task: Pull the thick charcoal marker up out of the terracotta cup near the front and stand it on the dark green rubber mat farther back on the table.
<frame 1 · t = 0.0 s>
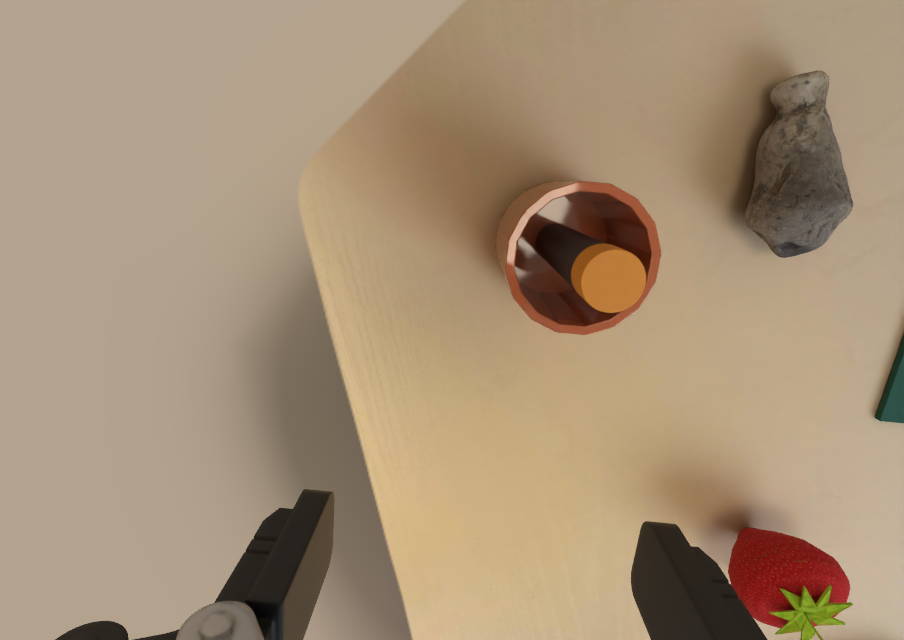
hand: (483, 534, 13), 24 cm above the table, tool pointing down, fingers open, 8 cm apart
marker: (554, 242, 34), point 1 cm above the table, touching pen cup
strawberry: (745, 530, 41), on the table
stone: (768, 170, 33), on the table
pen cup: (553, 241, 35), on the table
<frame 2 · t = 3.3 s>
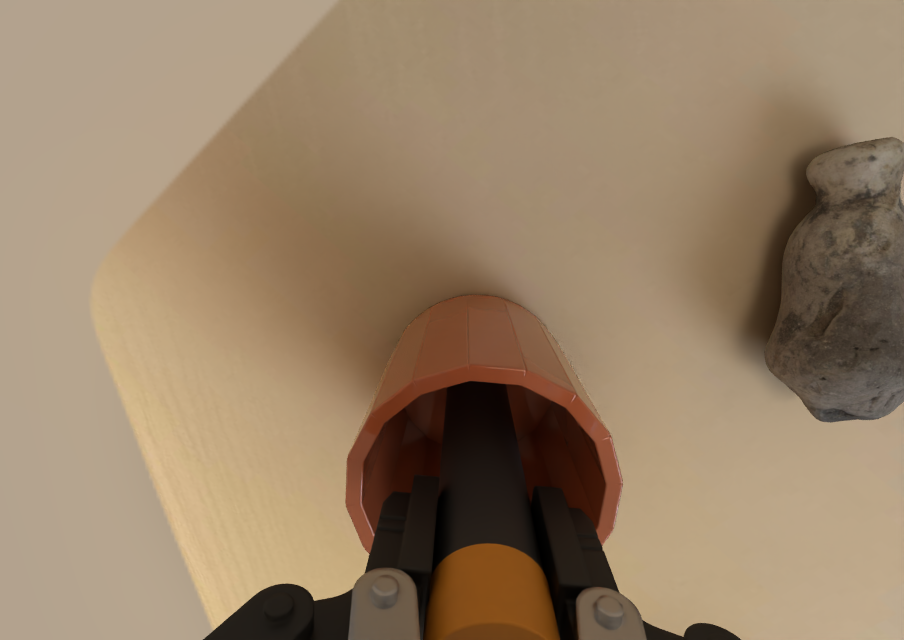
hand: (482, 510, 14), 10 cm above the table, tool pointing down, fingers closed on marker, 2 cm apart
marker: (476, 382, 23), point 1 cm above the table, touching gripper, pen cup
stone: (800, 277, 22), on the table
pen cup: (475, 378, 23), on the table
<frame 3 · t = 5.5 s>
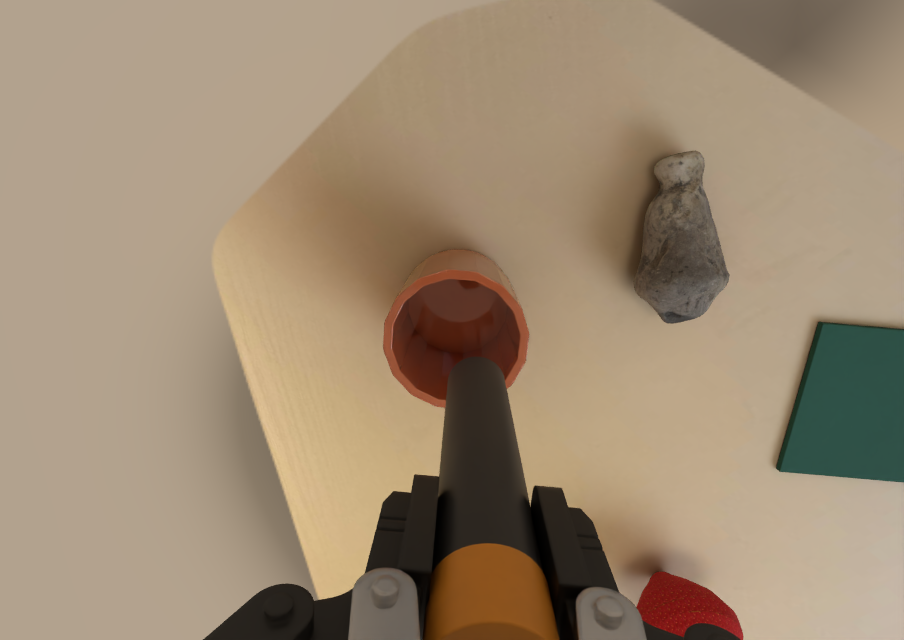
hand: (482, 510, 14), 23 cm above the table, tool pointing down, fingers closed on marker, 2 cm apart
marker: (476, 383, 23), point 14 cm above the table, touching gripper
strawberry: (658, 573, 42), on the table
stone: (660, 237, 35), on the table
mat: (875, 405, 37), on the table
pen cup: (457, 304, 36), on the table
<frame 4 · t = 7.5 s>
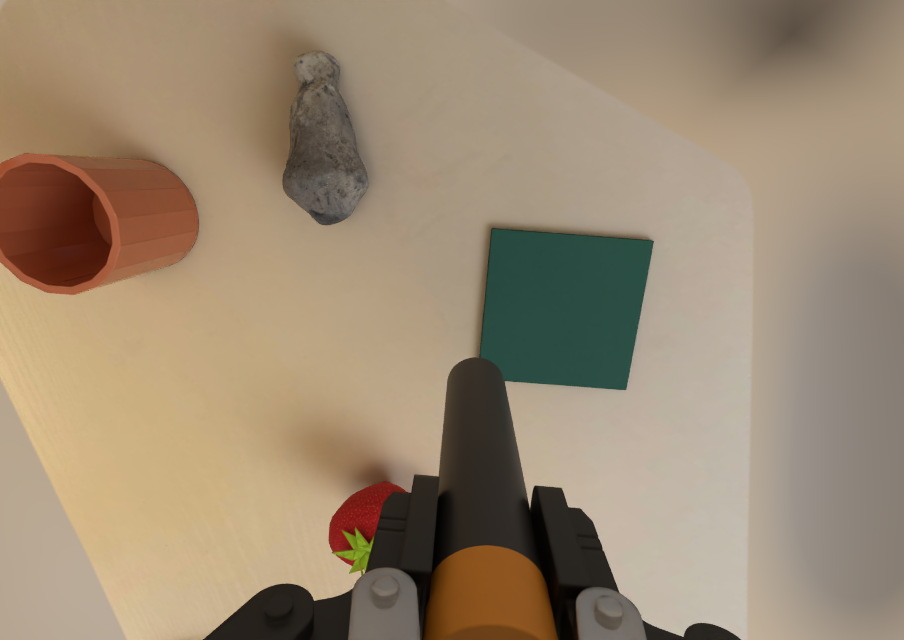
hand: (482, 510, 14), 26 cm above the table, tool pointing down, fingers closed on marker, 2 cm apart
marker: (475, 384, 23), point 17 cm above the table, touching gripper
strawberry: (387, 485, 44), on the table
stone: (327, 145, 36), on the table
mat: (560, 311, 39), on the table
pen cup: (145, 215, 37), on the table
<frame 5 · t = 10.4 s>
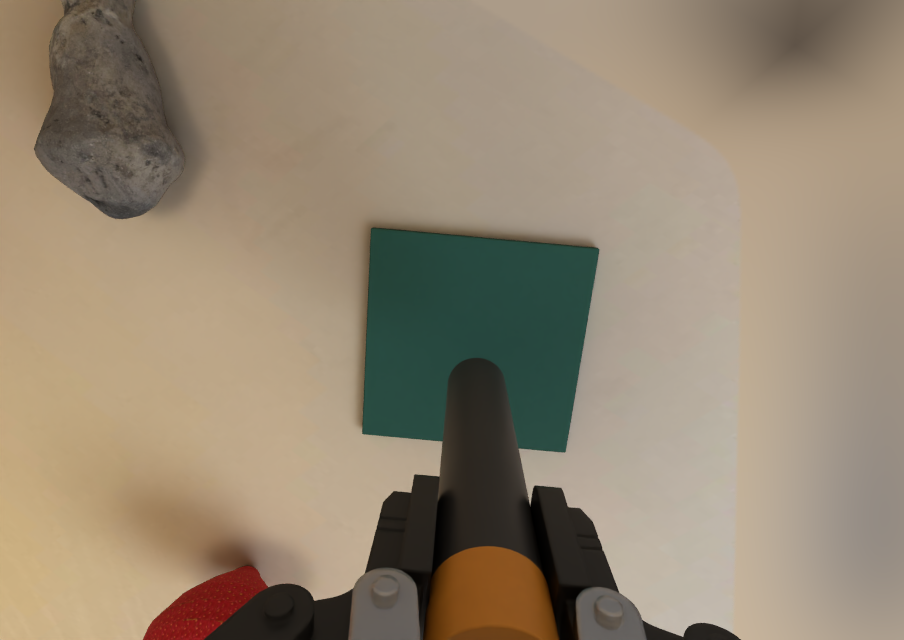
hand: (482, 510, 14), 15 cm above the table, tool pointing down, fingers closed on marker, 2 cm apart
marker: (476, 384, 23), point 6 cm above the table, touching gripper
strawberry: (252, 569, 33), on the table
stone: (136, 106, 25), on the table
mat: (473, 344, 28), on the table
when the fingers open (10 cm above the table, at t = 12.0 s): marker stays where it is, resting on mat.
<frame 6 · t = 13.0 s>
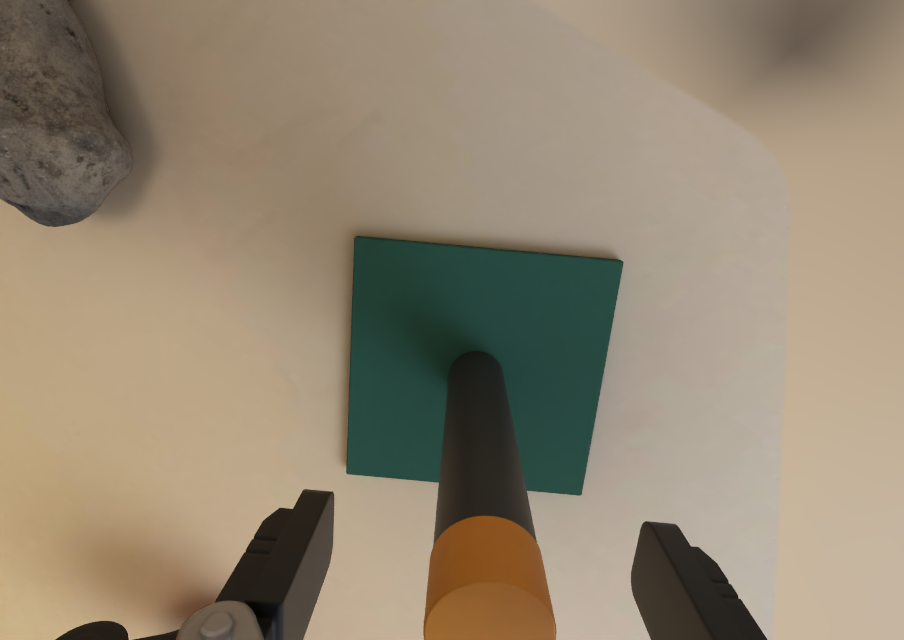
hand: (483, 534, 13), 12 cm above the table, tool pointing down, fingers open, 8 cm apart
marker: (475, 376, 24), resting on mat
stone: (76, 93, 21), on the table
mat: (475, 371, 24), on the table
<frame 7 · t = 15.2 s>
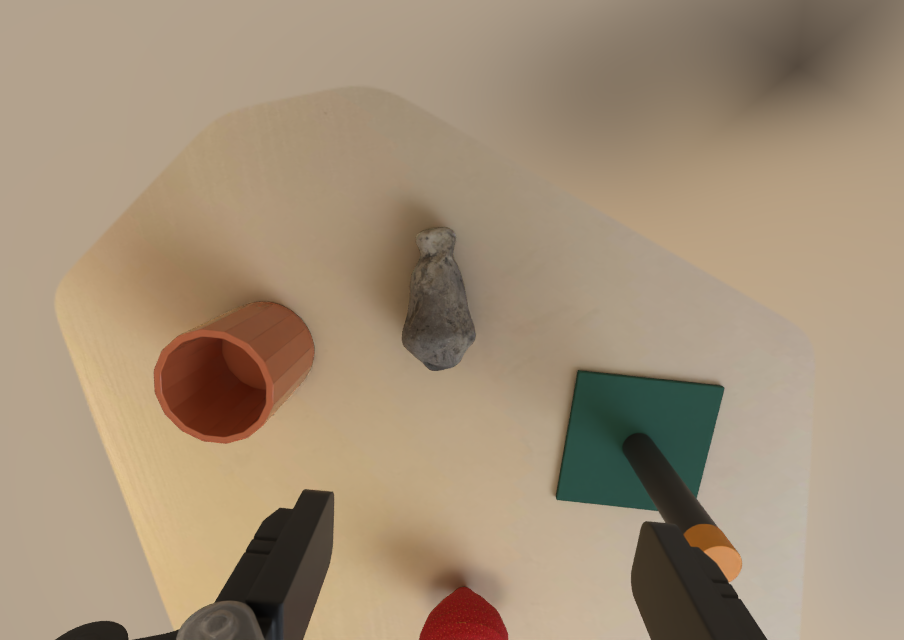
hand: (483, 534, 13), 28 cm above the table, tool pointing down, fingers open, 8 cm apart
marker: (637, 446, 42), resting on mat
strawberry: (464, 589, 47), on the table
stone: (435, 295, 40), on the table
mat: (635, 443, 42), on the table
pen cup: (267, 348, 42), on the table
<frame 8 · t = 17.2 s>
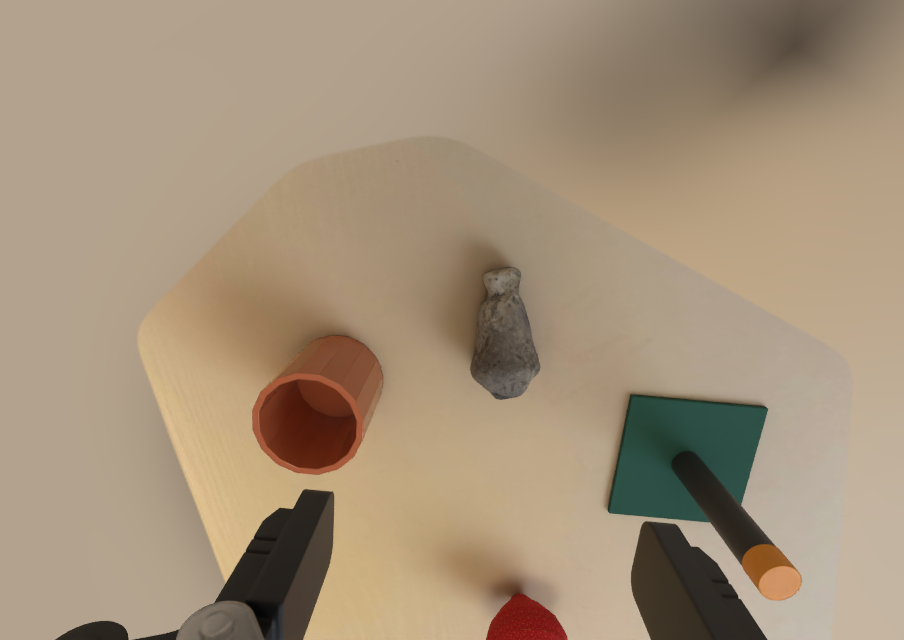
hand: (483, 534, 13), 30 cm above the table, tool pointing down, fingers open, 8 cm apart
marker: (685, 463, 45), resting on mat
strawberry: (519, 595, 50), on the table
stone: (498, 327, 43), on the table
mat: (683, 460, 45), on the table
pen cup: (338, 378, 44), on the table
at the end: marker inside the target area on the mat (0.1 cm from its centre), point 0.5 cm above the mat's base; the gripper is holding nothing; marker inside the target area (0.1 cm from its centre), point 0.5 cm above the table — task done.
